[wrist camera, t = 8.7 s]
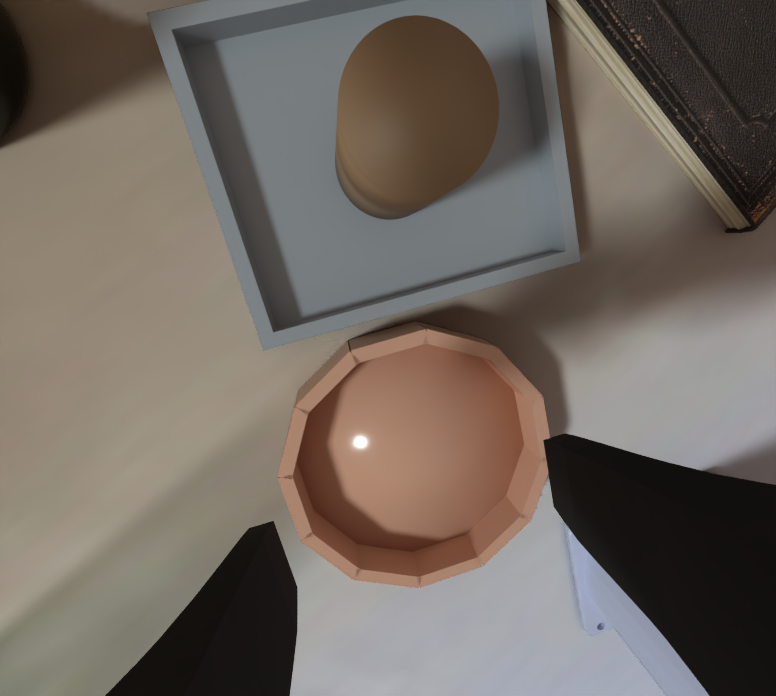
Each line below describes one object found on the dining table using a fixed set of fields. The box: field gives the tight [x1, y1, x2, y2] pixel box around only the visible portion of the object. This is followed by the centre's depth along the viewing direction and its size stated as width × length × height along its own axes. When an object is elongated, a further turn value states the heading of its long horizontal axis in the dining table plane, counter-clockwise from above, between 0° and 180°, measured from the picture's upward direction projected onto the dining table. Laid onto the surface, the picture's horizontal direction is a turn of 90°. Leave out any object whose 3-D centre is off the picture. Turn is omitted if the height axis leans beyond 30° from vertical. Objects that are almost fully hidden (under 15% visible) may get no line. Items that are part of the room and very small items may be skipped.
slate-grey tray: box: [147, 0, 581, 351], centre depth 16 cm, size 14×12×2 cm
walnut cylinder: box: [335, 15, 499, 220], centre depth 14 cm, size 4×4×6 cm
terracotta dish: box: [278, 321, 550, 588], centre depth 19 cm, size 12×12×2 cm
